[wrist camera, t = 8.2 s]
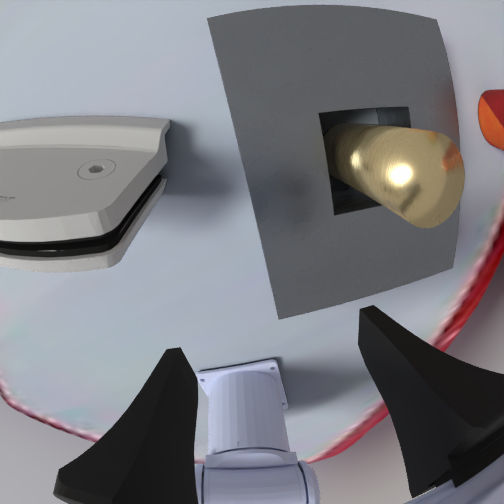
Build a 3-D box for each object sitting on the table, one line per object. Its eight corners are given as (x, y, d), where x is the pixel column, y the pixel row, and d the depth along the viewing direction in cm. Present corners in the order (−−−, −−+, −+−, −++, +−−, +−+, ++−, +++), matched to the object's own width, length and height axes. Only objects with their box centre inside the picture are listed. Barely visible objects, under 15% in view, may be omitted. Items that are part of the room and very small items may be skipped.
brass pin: (375, 175, 18) (462, 219, 10) (324, 185, 18) (396, 237, 10) (368, 120, 16) (462, 130, 8) (314, 126, 16) (390, 134, 8)
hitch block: (425, 245, 21) (452, 267, 17) (271, 285, 21) (278, 319, 18) (404, 30, 13) (436, 19, 9) (212, 39, 13) (207, 18, 10)
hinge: (176, 119, 15) (111, 220, 8) (171, 181, 19) (127, 299, 12) (-4, 123, 13) (-83, 196, 6) (6, 169, 16) (-59, 248, 9)
